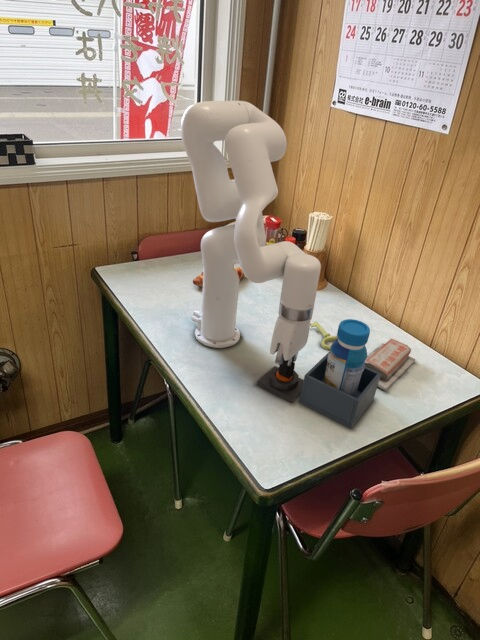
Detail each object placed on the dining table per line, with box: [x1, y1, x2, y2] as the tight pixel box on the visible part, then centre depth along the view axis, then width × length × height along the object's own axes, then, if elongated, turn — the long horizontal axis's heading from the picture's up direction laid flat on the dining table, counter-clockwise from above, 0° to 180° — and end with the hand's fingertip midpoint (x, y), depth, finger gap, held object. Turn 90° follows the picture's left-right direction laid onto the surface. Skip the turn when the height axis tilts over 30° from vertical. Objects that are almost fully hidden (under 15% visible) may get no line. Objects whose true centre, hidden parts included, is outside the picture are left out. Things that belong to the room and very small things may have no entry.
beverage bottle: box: [323, 318, 371, 398], centre depth 109 cm, size 8×8×20 cm
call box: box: [256, 365, 304, 404], centre depth 117 cm, size 10×8×3 cm
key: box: [310, 321, 337, 351], centre depth 136 cm, size 7×12×2 cm, turn 44°
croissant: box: [192, 266, 246, 288], centre depth 160 cm, size 21×10×8 cm, turn 126°
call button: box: [276, 371, 293, 382], centre depth 116 cm, size 4×4×2 cm
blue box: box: [299, 351, 381, 429], centre depth 112 cm, size 13×13×8 cm
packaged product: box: [365, 338, 416, 392], centre depth 126 cm, size 18×5×10 cm
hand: (285, 374), depth 115 cm, fingers closed
